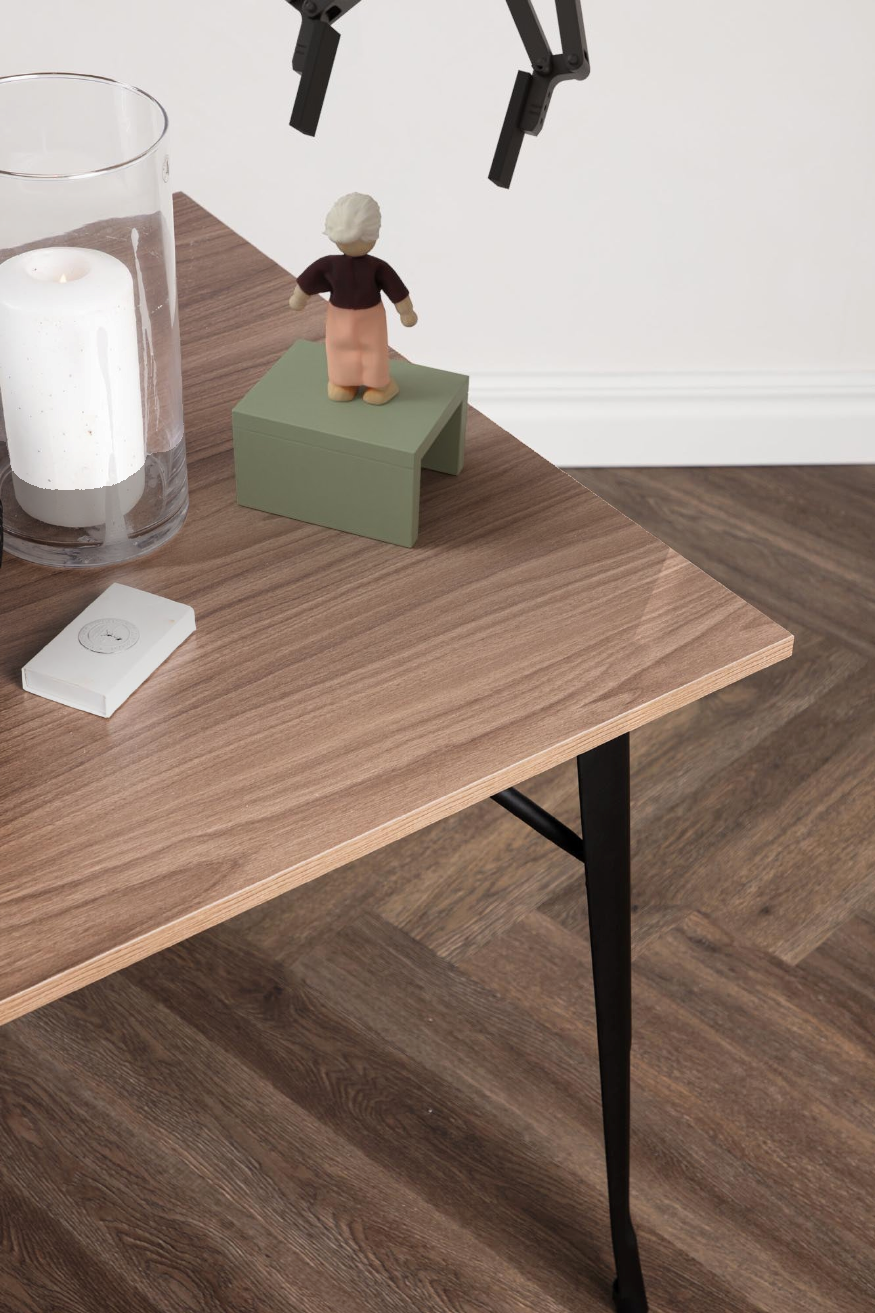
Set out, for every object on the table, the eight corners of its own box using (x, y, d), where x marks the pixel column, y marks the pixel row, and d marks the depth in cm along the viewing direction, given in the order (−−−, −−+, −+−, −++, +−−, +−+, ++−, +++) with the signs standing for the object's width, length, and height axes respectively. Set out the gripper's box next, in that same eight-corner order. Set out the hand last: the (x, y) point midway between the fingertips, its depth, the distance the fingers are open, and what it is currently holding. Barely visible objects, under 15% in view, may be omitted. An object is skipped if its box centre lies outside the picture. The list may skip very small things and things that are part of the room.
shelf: (236, 504, 91) (231, 409, 86) (300, 429, 98) (298, 337, 94) (411, 548, 88) (414, 453, 84) (463, 467, 95) (469, 375, 91)
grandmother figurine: (413, 376, 90) (419, 183, 82) (415, 407, 88) (422, 210, 79) (292, 375, 90) (286, 180, 82) (290, 406, 87) (284, 207, 79)
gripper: (700, -133, 86) (594, 217, 90) (329, -211, 92) (246, 123, 96) (687, -187, 79) (573, 195, 83) (285, -268, 84) (198, 95, 89)
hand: (398, 157), depth 90 cm, fingers open, 13 cm apart
